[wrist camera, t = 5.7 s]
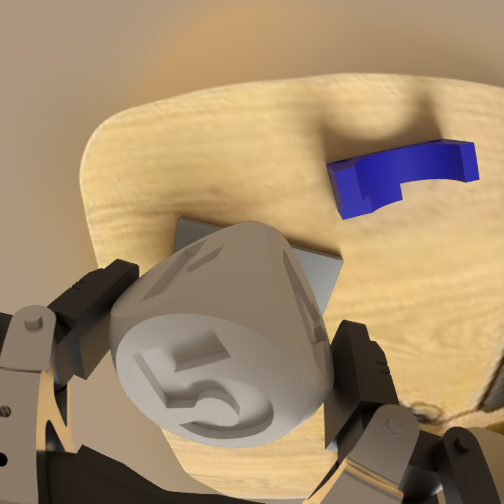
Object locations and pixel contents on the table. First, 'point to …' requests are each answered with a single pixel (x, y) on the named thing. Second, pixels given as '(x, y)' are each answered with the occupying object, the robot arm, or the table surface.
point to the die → (224, 340)
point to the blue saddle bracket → (397, 173)
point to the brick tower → (312, 261)
